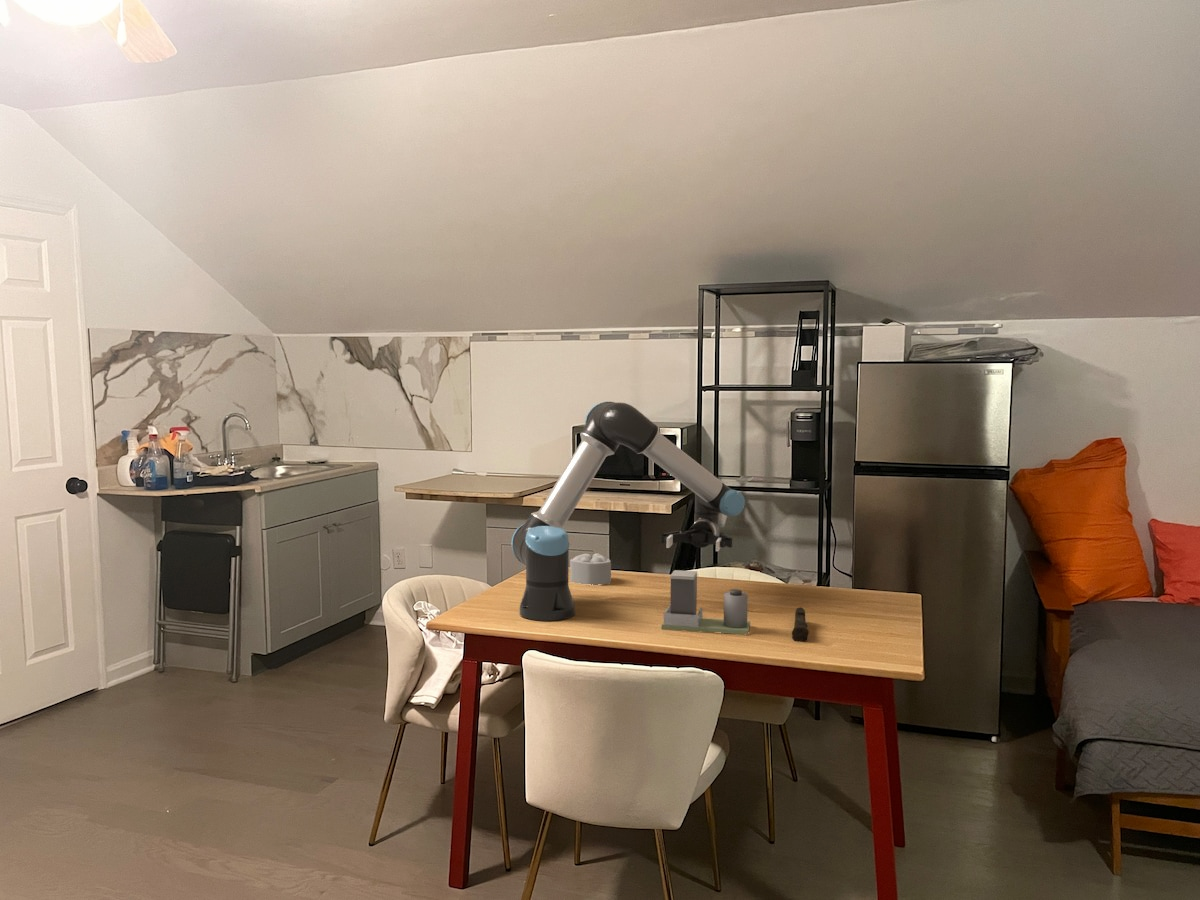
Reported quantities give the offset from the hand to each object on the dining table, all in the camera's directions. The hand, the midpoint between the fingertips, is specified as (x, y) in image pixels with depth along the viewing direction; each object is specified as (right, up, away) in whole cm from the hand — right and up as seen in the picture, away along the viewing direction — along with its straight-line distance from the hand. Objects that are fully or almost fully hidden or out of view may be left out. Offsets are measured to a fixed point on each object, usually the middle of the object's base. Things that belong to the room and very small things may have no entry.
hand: (692, 544), depth 237 cm
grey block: (-3, -19, -10) cm, 22 cm away
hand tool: (+26, -21, -15) cm, 36 cm away
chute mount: (-3, -19, -10) cm, 22 cm away
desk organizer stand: (+2, -20, -12) cm, 23 cm away
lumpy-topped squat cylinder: (-28, -17, +41) cm, 53 cm away
